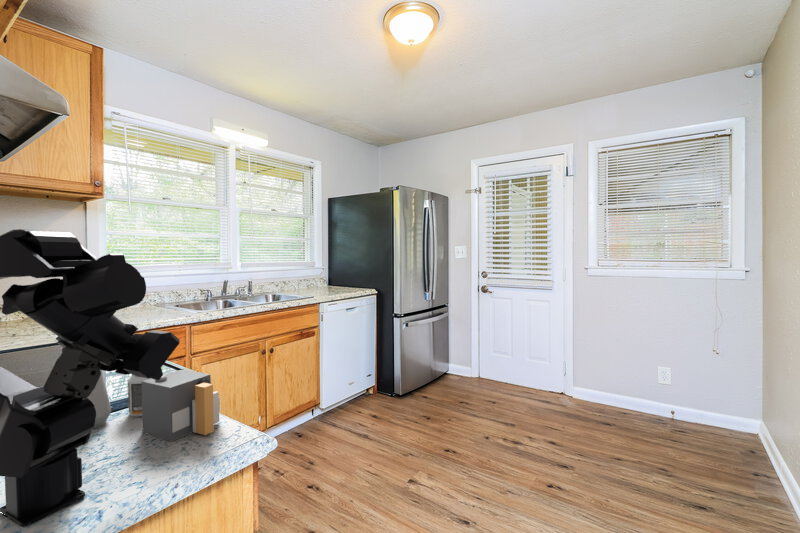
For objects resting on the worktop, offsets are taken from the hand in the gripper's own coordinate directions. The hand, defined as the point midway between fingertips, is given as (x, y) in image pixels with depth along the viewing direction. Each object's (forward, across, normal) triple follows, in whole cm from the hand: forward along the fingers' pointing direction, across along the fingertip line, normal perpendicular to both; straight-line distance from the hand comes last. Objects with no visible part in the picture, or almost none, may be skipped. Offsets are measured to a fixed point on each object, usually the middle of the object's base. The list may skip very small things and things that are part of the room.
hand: (159, 377), depth 61 cm
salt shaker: (+11, -24, -7) cm, 27 cm away
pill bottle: (+17, -20, -2) cm, 27 cm away
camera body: (+15, -8, -3) cm, 17 cm away
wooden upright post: (+16, -1, -2) cm, 16 cm away
